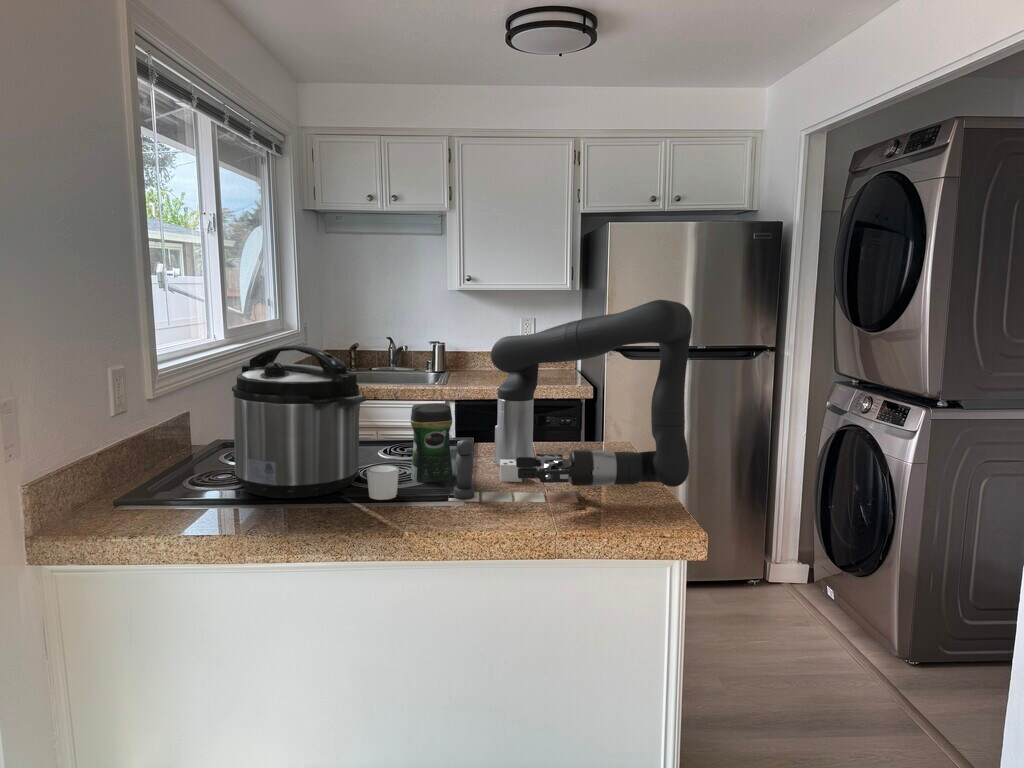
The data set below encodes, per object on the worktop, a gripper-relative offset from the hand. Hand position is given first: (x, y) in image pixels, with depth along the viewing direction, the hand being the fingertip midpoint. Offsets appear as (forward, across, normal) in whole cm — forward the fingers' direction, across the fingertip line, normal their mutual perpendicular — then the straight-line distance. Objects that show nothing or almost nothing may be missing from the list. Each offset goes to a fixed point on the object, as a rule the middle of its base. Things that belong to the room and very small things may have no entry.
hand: (517, 467), depth 147 cm
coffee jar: (+19, -15, +8) cm, 26 cm away
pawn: (+11, 0, +6) cm, 13 cm away
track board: (+1, 0, +8) cm, 8 cm away
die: (+1, -14, +8) cm, 16 cm away
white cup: (+28, 0, +8) cm, 30 cm away
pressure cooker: (+49, -13, +8) cm, 51 cm away
